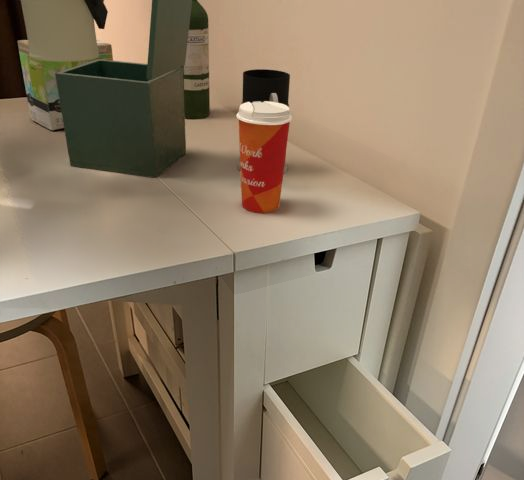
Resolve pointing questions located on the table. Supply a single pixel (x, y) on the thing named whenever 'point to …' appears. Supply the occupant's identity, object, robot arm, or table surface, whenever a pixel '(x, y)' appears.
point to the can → (60, 30)
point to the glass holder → (266, 88)
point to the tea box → (48, 84)
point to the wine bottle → (197, 65)
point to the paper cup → (262, 153)
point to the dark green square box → (122, 117)
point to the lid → (168, 36)
